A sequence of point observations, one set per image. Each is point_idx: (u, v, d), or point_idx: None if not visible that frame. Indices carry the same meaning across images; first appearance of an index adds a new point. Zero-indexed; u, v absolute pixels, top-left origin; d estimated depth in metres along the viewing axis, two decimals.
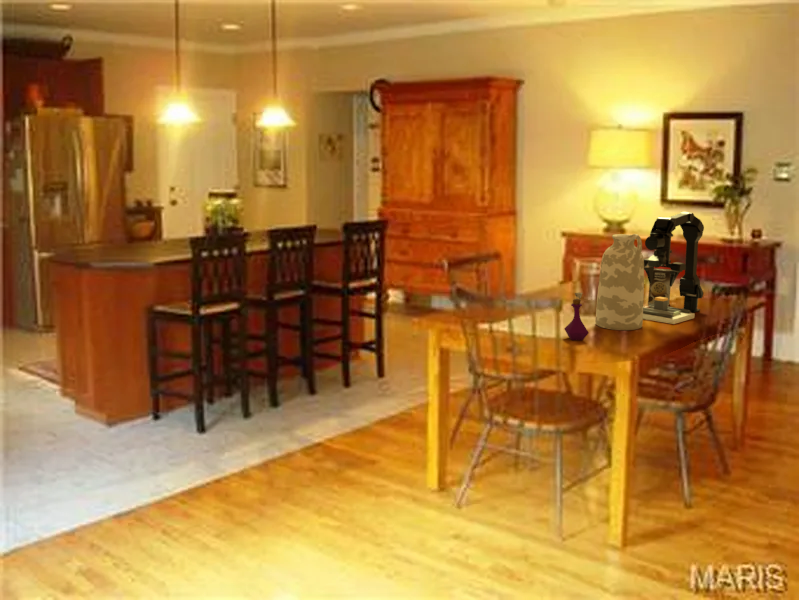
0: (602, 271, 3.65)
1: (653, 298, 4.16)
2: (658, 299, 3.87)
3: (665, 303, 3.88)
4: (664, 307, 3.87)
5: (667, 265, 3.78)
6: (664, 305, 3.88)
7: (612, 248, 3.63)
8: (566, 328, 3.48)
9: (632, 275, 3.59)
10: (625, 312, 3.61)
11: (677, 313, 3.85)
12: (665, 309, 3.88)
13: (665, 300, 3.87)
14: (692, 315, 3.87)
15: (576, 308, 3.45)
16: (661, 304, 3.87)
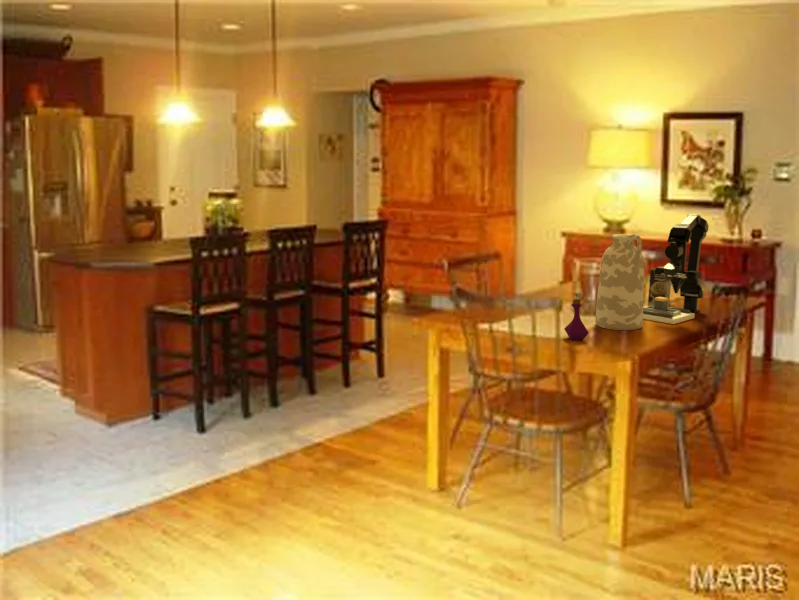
0: (602, 271, 3.65)
1: (653, 298, 4.16)
2: (658, 299, 3.87)
3: (665, 303, 3.88)
4: (664, 307, 3.87)
5: None
6: (664, 305, 3.88)
7: (612, 248, 3.63)
8: (566, 328, 3.48)
9: (632, 275, 3.59)
10: (625, 312, 3.61)
11: (677, 313, 3.85)
12: (665, 309, 3.88)
13: (665, 300, 3.87)
14: (692, 315, 3.87)
15: (576, 308, 3.45)
16: (661, 304, 3.87)
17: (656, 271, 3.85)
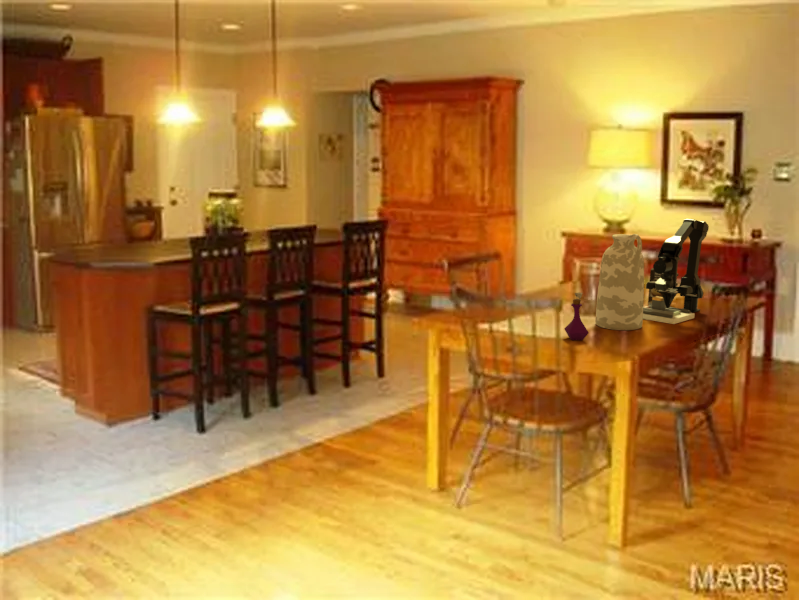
0: (602, 271, 3.65)
1: None
2: (656, 299, 3.88)
3: (663, 303, 3.88)
4: (661, 306, 3.88)
5: None
6: (662, 305, 3.88)
7: (612, 248, 3.63)
8: (566, 328, 3.48)
9: (632, 275, 3.59)
10: (625, 312, 3.61)
11: (677, 313, 3.85)
12: (663, 309, 3.89)
13: (663, 300, 3.88)
14: (692, 315, 3.87)
15: (576, 308, 3.45)
16: (659, 304, 3.87)
17: (647, 285, 3.89)
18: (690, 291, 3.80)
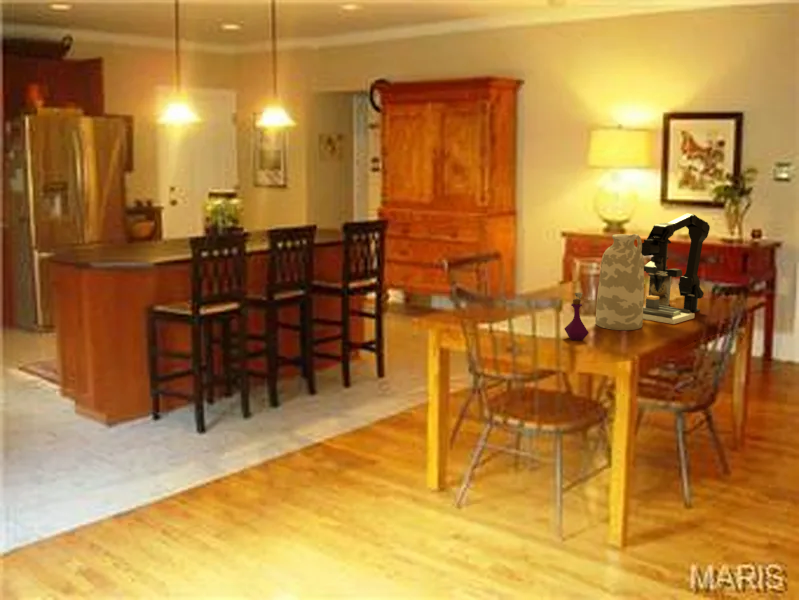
0: (602, 271, 3.65)
1: None
2: (649, 298, 3.90)
3: (656, 302, 3.90)
4: (655, 305, 3.90)
5: None
6: (656, 304, 3.90)
7: (612, 248, 3.63)
8: (566, 328, 3.48)
9: (632, 275, 3.59)
10: (625, 312, 3.61)
11: (677, 313, 3.85)
12: (656, 308, 3.91)
13: (656, 299, 3.90)
14: (692, 315, 3.87)
15: (576, 308, 3.45)
16: (652, 303, 3.89)
17: None
18: (680, 274, 3.82)
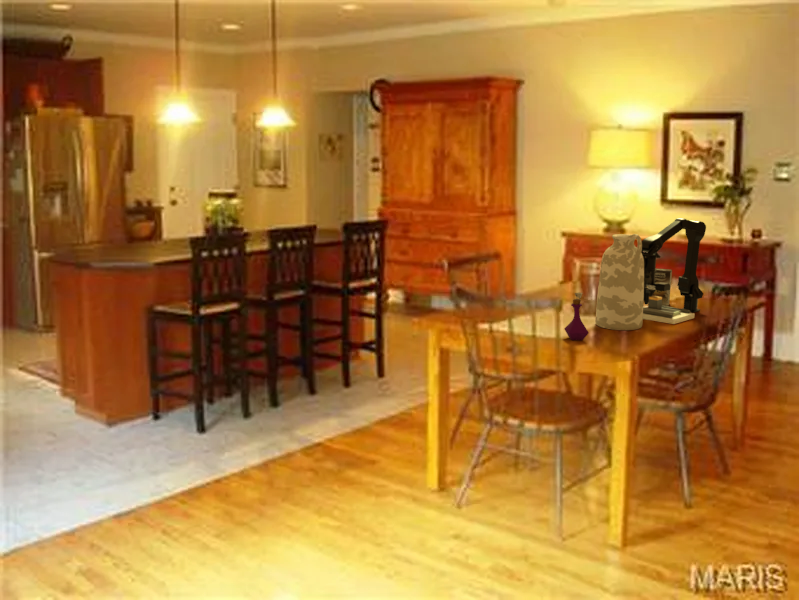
0: (602, 271, 3.65)
1: None
2: (652, 298, 3.89)
3: (659, 302, 3.89)
4: (658, 306, 3.89)
5: None
6: (659, 304, 3.89)
7: (612, 248, 3.63)
8: (566, 328, 3.48)
9: (632, 275, 3.59)
10: (625, 312, 3.61)
11: (677, 313, 3.85)
12: (659, 308, 3.90)
13: (659, 299, 3.89)
14: (692, 315, 3.87)
15: (576, 308, 3.45)
16: (655, 303, 3.88)
17: None
18: (668, 288, 3.87)
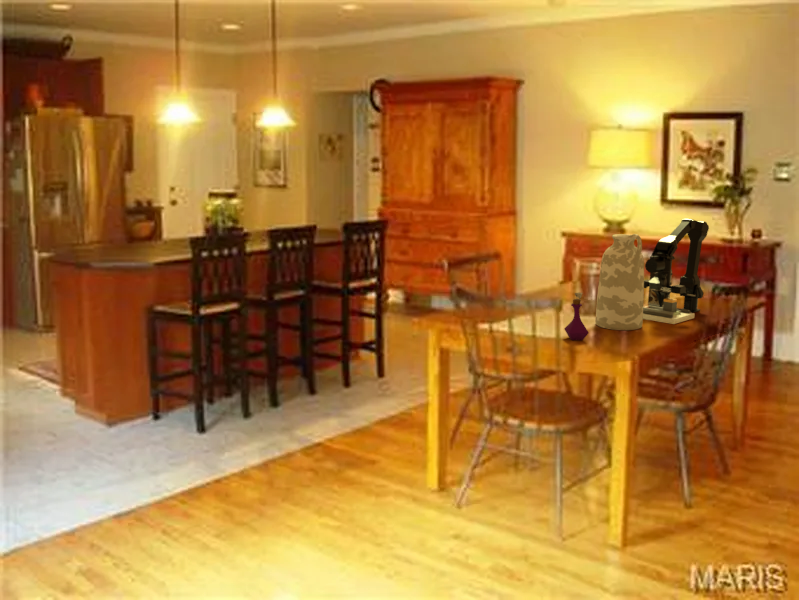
0: (602, 271, 3.65)
1: (653, 298, 4.16)
2: (667, 300, 3.84)
3: (674, 304, 3.85)
4: (673, 308, 3.84)
5: None
6: (674, 307, 3.85)
7: (612, 248, 3.63)
8: (566, 328, 3.48)
9: (632, 275, 3.59)
10: (625, 312, 3.61)
11: (677, 313, 3.85)
12: (674, 310, 3.85)
13: (674, 301, 3.84)
14: (692, 315, 3.87)
15: (576, 308, 3.45)
16: (670, 305, 3.84)
17: None
18: (683, 291, 3.82)
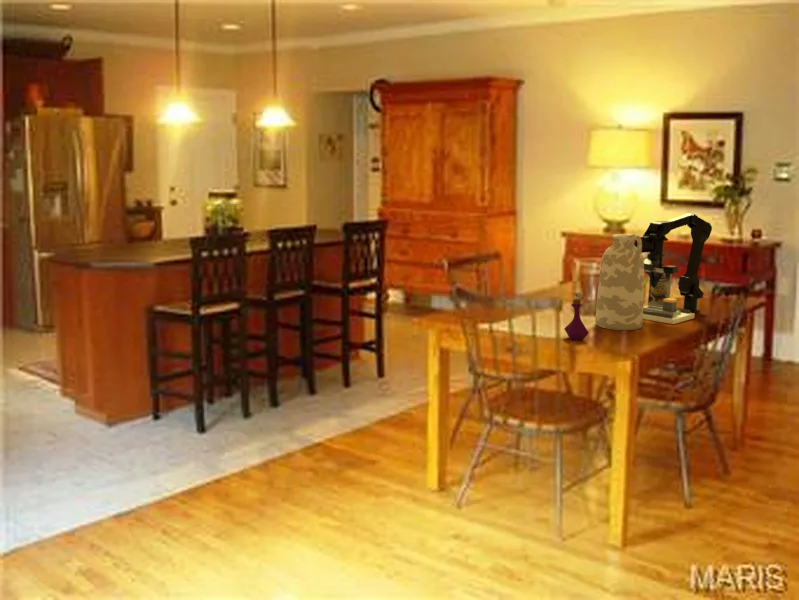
0: (602, 271, 3.65)
1: (653, 298, 4.16)
2: (667, 300, 3.85)
3: (674, 304, 3.85)
4: (672, 308, 3.84)
5: None
6: (673, 307, 3.85)
7: (612, 248, 3.63)
8: (566, 328, 3.48)
9: (632, 275, 3.59)
10: (625, 312, 3.61)
11: (677, 313, 3.85)
12: (674, 310, 3.86)
13: (674, 301, 3.84)
14: (692, 315, 3.87)
15: (576, 308, 3.45)
16: (670, 305, 3.84)
17: None
18: (676, 271, 3.85)
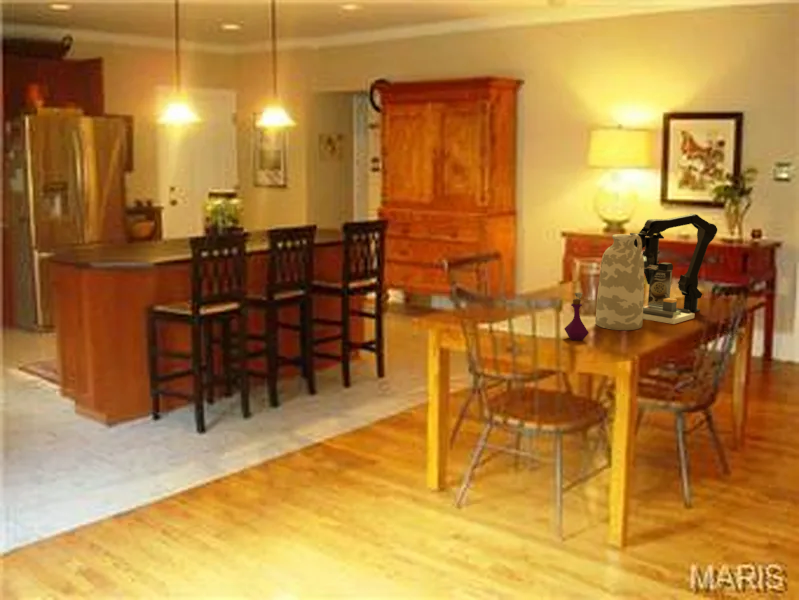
0: (602, 271, 3.65)
1: (653, 298, 4.16)
2: (667, 300, 3.85)
3: (674, 304, 3.85)
4: (672, 308, 3.84)
5: None
6: (673, 307, 3.85)
7: (612, 248, 3.63)
8: (566, 328, 3.48)
9: (632, 275, 3.59)
10: (625, 312, 3.61)
11: (677, 313, 3.85)
12: (674, 310, 3.86)
13: (674, 301, 3.84)
14: (692, 315, 3.87)
15: (576, 308, 3.45)
16: (670, 305, 3.84)
17: None
18: (670, 268, 3.92)
